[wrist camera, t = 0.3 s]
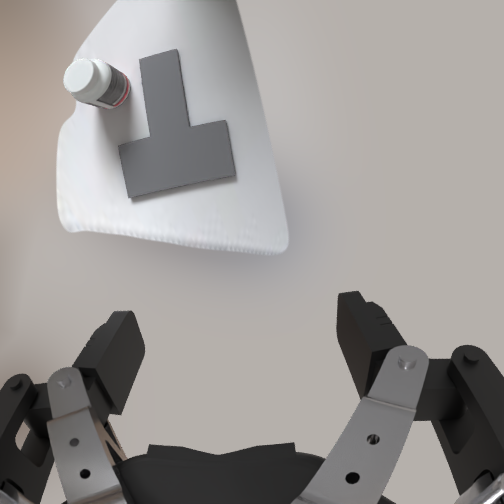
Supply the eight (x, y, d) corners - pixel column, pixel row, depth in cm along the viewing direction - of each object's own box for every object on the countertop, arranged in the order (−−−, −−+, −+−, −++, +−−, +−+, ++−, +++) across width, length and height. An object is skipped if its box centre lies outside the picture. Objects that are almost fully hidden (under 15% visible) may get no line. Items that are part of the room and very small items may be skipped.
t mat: (110, 71, 32) (108, 70, 31) (212, 43, 31) (211, 41, 31) (130, 197, 37) (128, 198, 36) (235, 175, 37) (235, 175, 36)
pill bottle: (128, 66, 32) (97, 44, 22) (134, 101, 33) (102, 87, 24) (93, 81, 32) (56, 65, 22) (98, 115, 33) (60, 107, 24)
